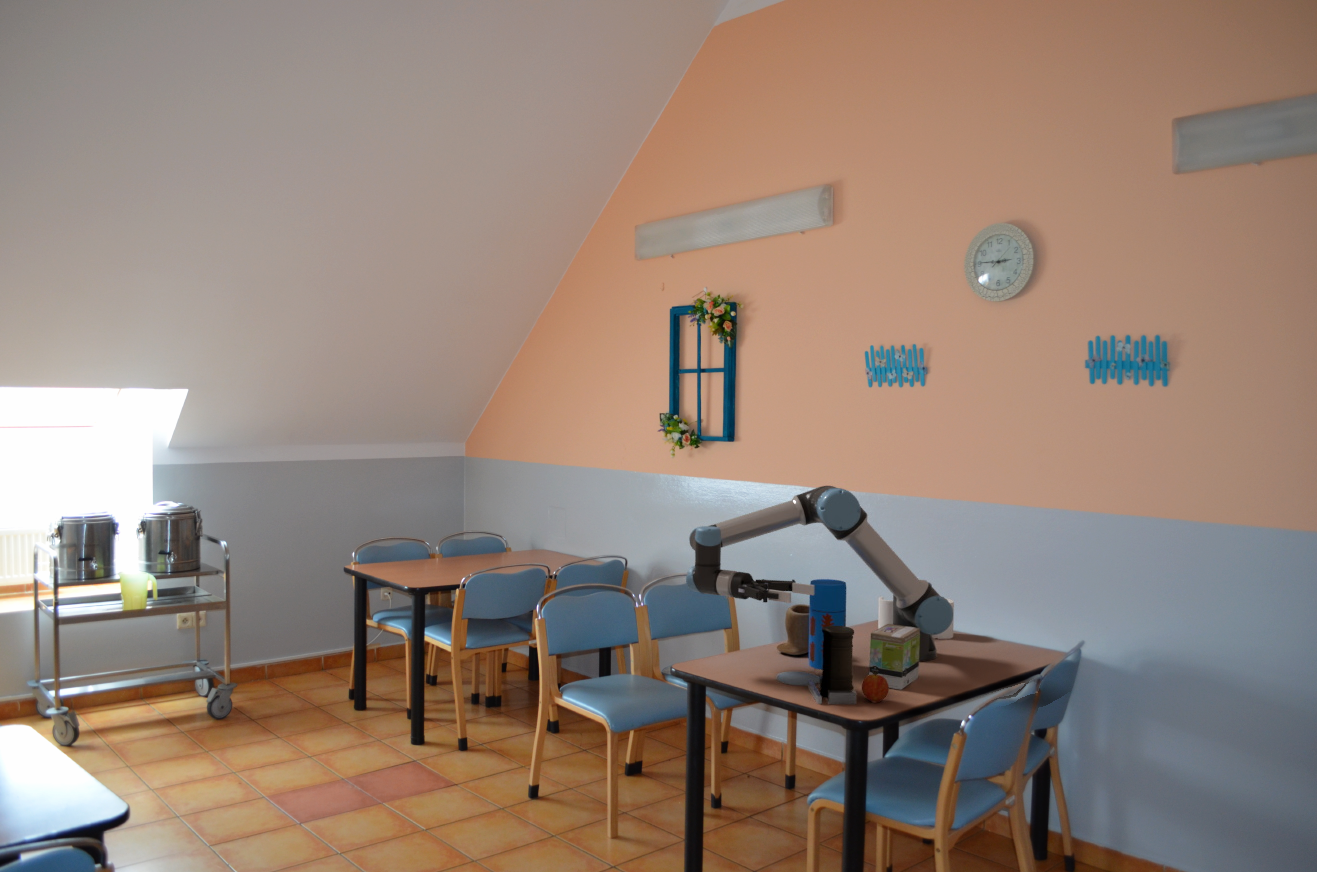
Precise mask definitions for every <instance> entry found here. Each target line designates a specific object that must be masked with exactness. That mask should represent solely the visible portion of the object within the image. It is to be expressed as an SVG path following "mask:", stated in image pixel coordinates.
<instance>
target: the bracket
mask: <svg viewBox="0 0 1317 872" xmlns="http://www.w3.org/2000/svg"><path fill="white" fill-rule="evenodd" d="M944 598H945V599H947V600H948V602H949V603H950V604H951V606H952V608H953V620H952V623H951V625H950V626H949V628H948V629H947V630H945V631H944V632H942V633H940V634H937V635H932V636H933V639H935V638H938V639H937V640H948V639H952V638H954V619H955V615H954V612H955V609H954V607H955V600H952V599H950V598H948V597H944ZM877 616H878V617H877V618H878V620H877V621H878V623H877V626H878V628H877V629H879V628H881V627H883V626H885V625H887V624H893V600H888V599H885V598H884V596H879V597H878V615H877Z"/></svg>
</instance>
